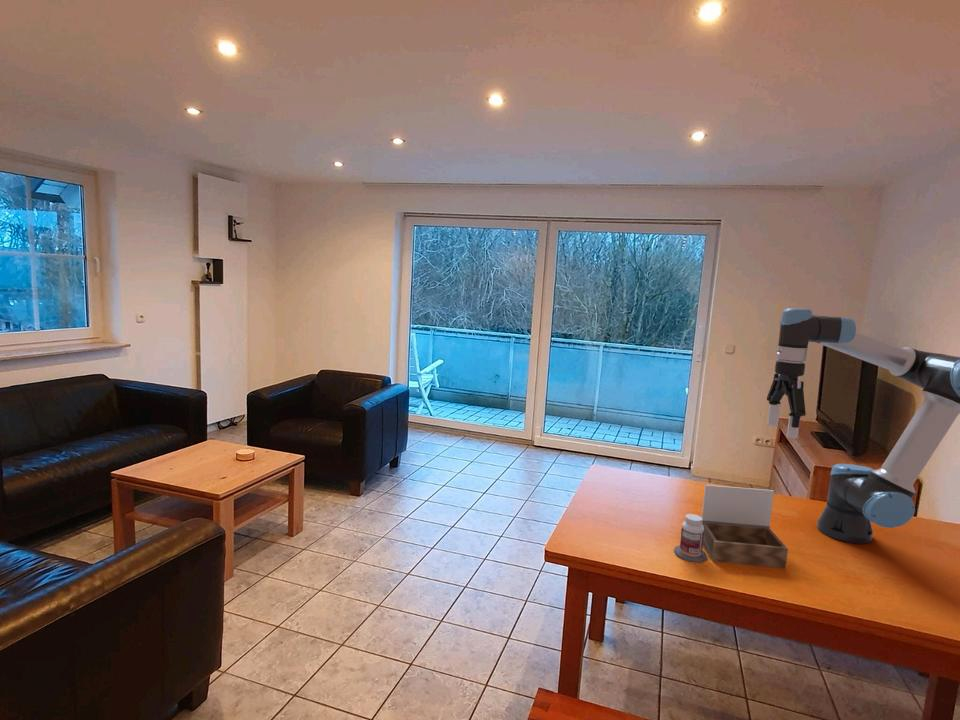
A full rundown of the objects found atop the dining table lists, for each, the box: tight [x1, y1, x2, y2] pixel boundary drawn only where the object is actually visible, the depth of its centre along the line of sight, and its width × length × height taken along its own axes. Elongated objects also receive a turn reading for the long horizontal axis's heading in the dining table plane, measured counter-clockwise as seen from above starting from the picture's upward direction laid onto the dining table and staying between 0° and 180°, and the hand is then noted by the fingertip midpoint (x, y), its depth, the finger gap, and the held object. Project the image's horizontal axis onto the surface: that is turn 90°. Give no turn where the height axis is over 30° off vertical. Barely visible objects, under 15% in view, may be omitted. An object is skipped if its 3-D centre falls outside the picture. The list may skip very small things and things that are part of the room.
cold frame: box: [702, 523, 789, 569], centre depth 161 cm, size 20×17×12 cm
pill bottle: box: [679, 513, 704, 557], centre depth 158 cm, size 6×6×11 cm
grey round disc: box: [673, 544, 707, 563], centre depth 158 cm, size 9×9×1 cm
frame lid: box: [701, 484, 775, 529], centre depth 165 cm, size 20×1×12 cm, turn 83°
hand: (781, 431), depth 160 cm, fingers open, 13 cm apart
